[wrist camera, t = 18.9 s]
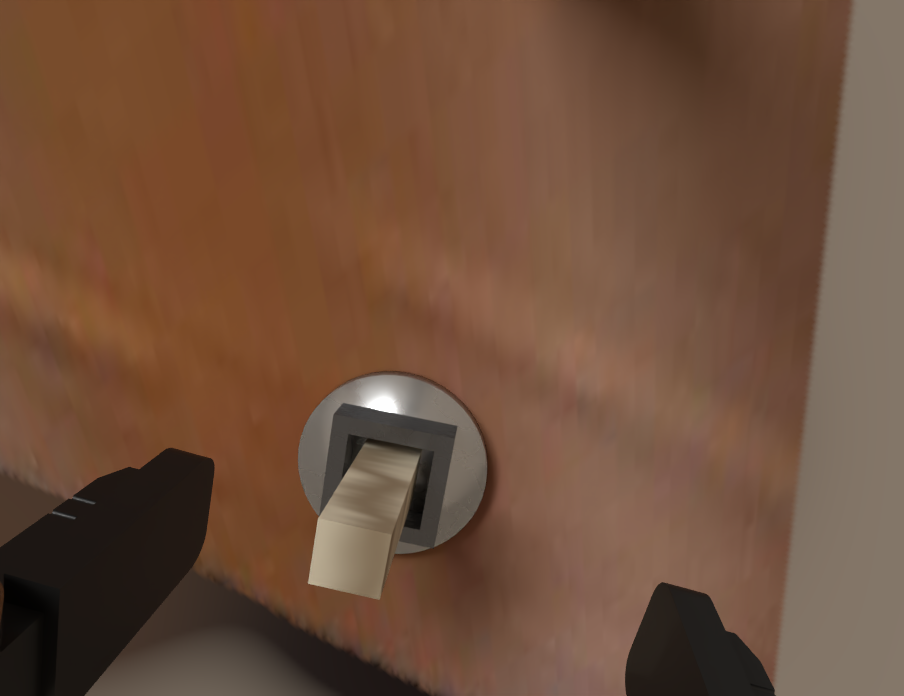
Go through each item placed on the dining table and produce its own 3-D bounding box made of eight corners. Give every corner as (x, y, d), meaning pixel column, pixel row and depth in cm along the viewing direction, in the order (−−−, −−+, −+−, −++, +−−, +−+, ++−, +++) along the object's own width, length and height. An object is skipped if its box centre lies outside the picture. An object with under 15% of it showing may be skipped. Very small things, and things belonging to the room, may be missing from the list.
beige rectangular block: (360, 486, 44) (308, 583, 32) (368, 436, 43) (318, 518, 32) (412, 497, 44) (379, 599, 32) (422, 447, 43) (391, 534, 31)
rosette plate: (293, 524, 47) (275, 550, 43) (315, 354, 43) (298, 366, 40) (468, 561, 46) (465, 591, 42) (504, 391, 43) (504, 407, 39)
